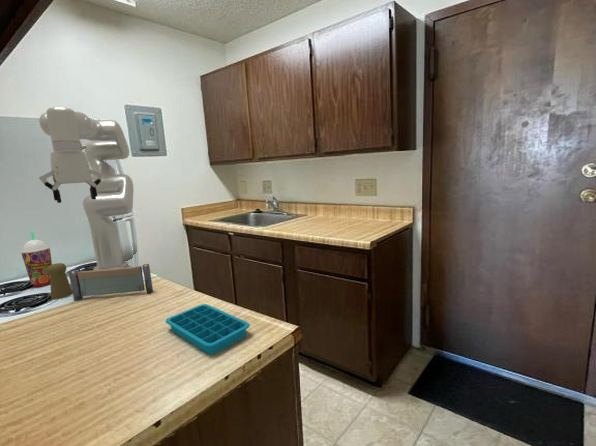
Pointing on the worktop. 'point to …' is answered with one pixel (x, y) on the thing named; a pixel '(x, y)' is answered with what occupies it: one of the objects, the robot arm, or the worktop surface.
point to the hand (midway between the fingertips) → (77, 200)
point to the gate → (111, 281)
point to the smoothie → (37, 261)
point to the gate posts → (77, 289)
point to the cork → (59, 281)
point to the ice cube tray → (208, 328)
